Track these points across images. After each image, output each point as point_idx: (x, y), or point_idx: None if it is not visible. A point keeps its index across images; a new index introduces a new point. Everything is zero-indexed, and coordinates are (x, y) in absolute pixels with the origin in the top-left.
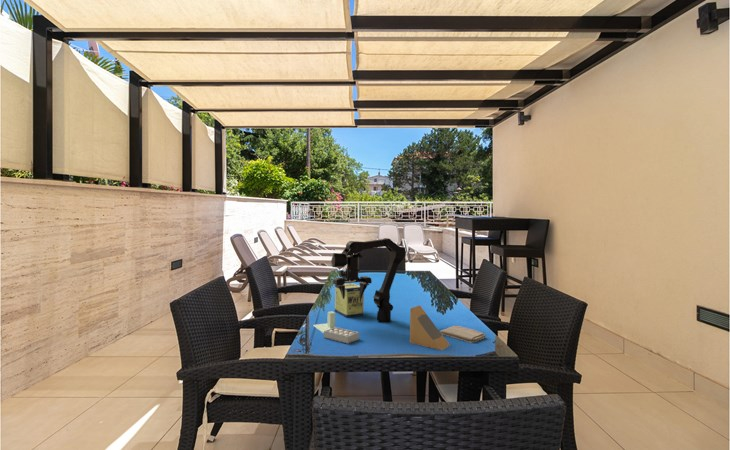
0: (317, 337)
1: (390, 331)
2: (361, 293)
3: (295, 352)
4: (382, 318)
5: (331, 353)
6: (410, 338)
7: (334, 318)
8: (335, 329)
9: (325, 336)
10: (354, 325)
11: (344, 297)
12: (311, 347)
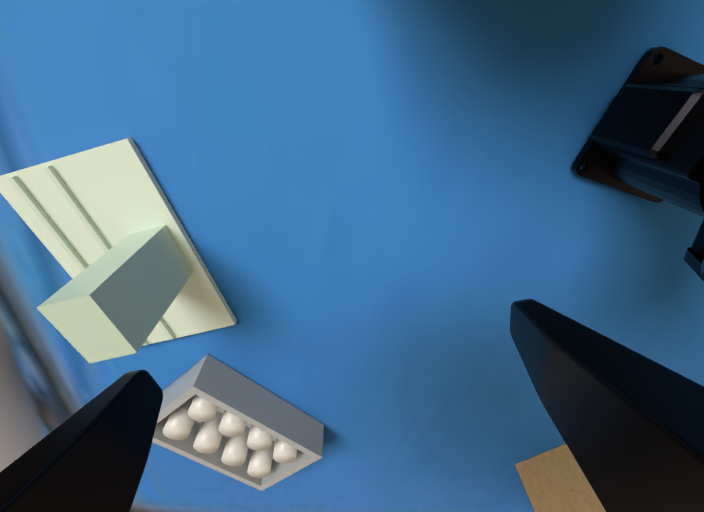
0: None
1: None
2: (564, 437)
3: None
4: (629, 183)
5: (207, 506)
6: (523, 485)
7: (157, 317)
8: (196, 417)
9: None
10: (349, 217)
11: (155, 425)
12: None
